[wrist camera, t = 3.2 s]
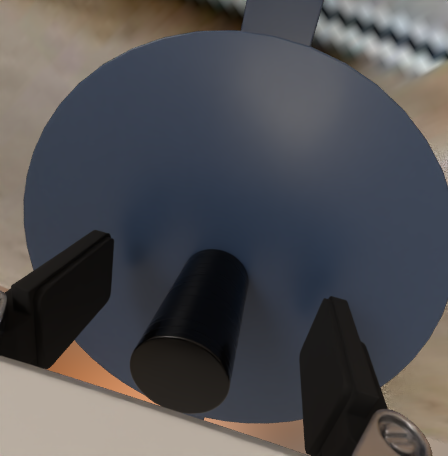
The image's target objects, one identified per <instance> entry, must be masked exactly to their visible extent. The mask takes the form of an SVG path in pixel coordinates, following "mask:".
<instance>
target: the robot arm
mask: <svg viewBox="0 0 448 456" xmlns="http://www.w3.org/2000/svg"><path fill="white" fill-rule="evenodd" d="M113 253H114V239H113V238H111V236H110V234H109V233H105V232H102V231H98V230H93V231H92V232H90V233H89V234H87V235H86V236H84V237H83V238H81V239H80V240H78V241H77V242H75V243H74V244H72V245H71V246H69V247H68V248H66V249H65V250H63V251H62V252H61V253H59V254H58V255H56V256H55V257H53V258H52V259H50V260H49V261H47V262H46V263H44V264H43V265H41V266H40V267H38V268H37V269H35V270H34V271H32V272H31V273H29V274H28V275H27V276H25V277H24V278H22V279H21V280H19V281H18V282H16V283H15V284H13V285H12V286H11V289H9V290H8V291H7V292H5V293H4V292H2V291H0V456H308V455H306V454H303V453H300V452H297V451H294V450H291V449H289V448H286V447H283V446H280V445H277V444H274V443H271V442H268V441H265V440H262V439H259V438H256V437H253V436H250V435H247V434H244V433H241V432H238V431H235V430H232V429H228V428H226V427H223V426H219V425H217V424H213V423H210V422H207V421H204V420H201V419H198V418H195V417H192V416H189V415H186V414H183V413H180V412H177V411H174V410H171V409H168V408H165V407H162V406H158V405H155V404H152V403H149V402H146V401H143V400H140V399H137V398H133V397H131V396H127V395H124V394H121V393H118V392H115V391H112V390H109V389H106V388H103V387H100V386H96V385H93V384H90V383H87V382H83V381H81V380H78V379H74V378H71V377H68V376H64V375H62V374H59V373H55V372H52V371H49V370H46V369H48V368H50V367H51V366H52V365H53V364H54V363H55V362H56V360H57V359H58V358H59V357H60V356H61V355H62V353H63V352H64V351H65V350H66V349H67V348H68V347H69V346H70V344H71V343H72V342H73V341H74V340H75V339H76V338H77V336H78V335H79V334H80V333H81V332H82V331H83V330H84V328H85V327H86V326H87V325H88V324H89V323H90V322H91V320H92V319H93V318H94V317H95V316H96V315H97V314H98V312H99V311H100V310H101V309H102V308H103V307H104V306H105V304H106V303H107V302H108V300H109V298H110V295H111V284H112V269H113ZM299 365H300V380H301V395H302V410H303V425H304V440H305V450H306V453H307V454H309V455H311V456H432V450H431V447H430V444H429V443H428V441H427V439H426V437H425V436H424V434H423V433H422V432H421V431H420V430H419V428H418V427H417V426H416V425H415V424H414V423H413V422H411V421H410V420H409V419H408V418H406V417H405V416H403V415H402V414H400V413H398V412H395V411H393V410H389V409H388V408H387V405H386V403H385V400H384V397H383V394H382V391H381V388H380V385H379V382H378V379H377V376H376V374H375V371H374V368H373V365H372V362H371V359H370V356H369V353H368V350H367V347H366V345H365V344H364V343H363V342H361V341H360V338H359V335H358V332H357V329H356V326H355V323H354V320H353V317H352V314H351V311H350V308H349V305H348V302H347V300H344V299H341V298H337V297H333V296H330V297H329V298H328V299H326V298H324V299H323V301H322V303H321V305H320V307H319V310H318V312H317V314H316V316H315V319H314V321H313V323H312V326H311V328H310V330H309V333H308V335H307V337H306V340H305V342H304V344H303V346H302V349H301V351H300V356H299Z"/></svg>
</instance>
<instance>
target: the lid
mask: <svg viewBox="0 0 448 456" xmlns="http://www.w3.org/2000/svg"><path fill="white" fill-rule="evenodd" d="M24 228H25V235H26V242H27V248H28V252H29V255H30V259H31V263H32V267H33V270H35V269H37V268H38V267H40V266H41V265H43V264H44V263H46V262H47V261H49V260H50V259H52V258H53V257H55V256H56V255H58V254H59V253H61V252H62V251H63V250H65V249H66V248H68V247H69V246H71V245H72V244H74V243H75V242H77V241H78V240H80V239H81V238H83V237H84V236H86V235H87V234H89V233H90V232H92V231H93V230H98V231H102V232H105V233H109V234H110V236H111V238H113V239H114V253H113V269H112V284H111V295H110V298H109V300H108V302H107V303H106V304H105V306H104V307H103V308H102V309H101V310H100V311H99V312H98V314H97V315H96V316H95V317H94V318H93V319H92V320H91V322H90V323H89V324H88V325H87V326H86V327H85V328H84V330H83V331H82V332H81V333H80V334H79V335H78V336H77V338H76V339H75V341H76V342H77V344H78V345H79V346H80V347H81V348H82V349H83V350H84V351H85V352H86V353H87V354H88V355H89V356H90V357H91V358H92V359H93V360H95V361H96V362H97V363H98V364H99V365H101V366H102V367H103V368H104V369H106V370H107V371H108V372H109V373H111V374H112V375H113V376H115V377H116V378H118V379H119V380H120V381H122V382H123V383H125V384H126V385H128V386H130V387H131V388H133V389H135V390H136V391H138V392H140V393H142V394H143V395H145V396H146V397H148V398H149V399H150V400H152V401H153V402H154V403H156V404H158V405H160V406H162V407H165V408H168V409H171V410H174V411H177V412H180V413H187V414H194V415H198V416H202V417H206V418H211V419H216V420H222V421H229V422H239V423H279V422H290V421H296V420H301V419H303V410H302V395H301V380H300V365H299V356H300V351H301V349H302V346H303V344H304V342H305V340H306V337H307V335H308V333H309V330H310V328H311V326H312V323H313V321H314V319H315V316H316V314H317V312H318V310H319V307H320V305H321V303H322V301H323V299H324V298H326V299H328V298H329V297H330V296H333V297H337V298H341V299H344V300H347V302H348V305H349V308H350V311H351V314H352V317H353V320H354V323H355V326H356V329H357V332H358V335H359V338H360V341H361V342H363V343H364V344H365V345H366V347H367V350H368V353H369V356H370V359H371V362H372V365H373V368H374V371H375V374H376V376H377V379H378V382H379V385H380V387H382V386H383V385H384V384H386V383H387V382H388V381H390V380H391V379H392V378H394V377H395V376H396V375H397V374H398V373H399V372H400V371H402V370H403V369H404V368H405V367H406V366H407V365H408V364H409V363H410V362H411V361H412V360H413V359H414V358H415V356H416V355H417V354H418V352H419V351H420V350H421V349H422V347H423V346H424V345H425V343H426V342H427V341H428V340H429V338H430V336H431V335H432V333H433V331H434V329H435V327H436V326H437V324H438V322H439V320H440V319H441V317H442V314H443V312H444V309H445V306H446V304H447V301H448V186H447V182H446V179H445V176H444V173H443V170H442V168H441V167H440V165H439V163H438V161H437V159H436V157H435V155H434V153H433V151H432V149H431V147H430V146H429V144H428V142H427V140H426V139H425V137H424V136H423V135H422V133H421V132H420V131H419V129H418V128H417V127H416V125H415V124H414V123H413V121H412V120H411V119H410V117H409V116H408V115H407V113H406V112H405V111H404V110H403V109H402V108H401V107H400V106H399V105H398V104H397V103H396V102H395V101H394V100H393V99H392V98H390V97H389V96H388V95H387V94H386V93H385V92H384V91H383V90H382V89H381V88H380V87H379V86H378V85H377V84H375V83H374V82H372V81H371V80H369V79H368V78H366V77H365V76H363V75H362V74H361V73H359V72H358V71H356V70H355V69H353V68H352V67H350V66H349V65H347V64H346V63H344V62H342V61H340V60H338V59H336V58H334V57H331V56H329V55H327V54H325V53H323V52H321V51H319V50H317V49H315V48H313V47H310V46H307V45H304V44H300V43H297V42H294V41H290V40H287V39H284V38H280V37H277V36H273V35H266V34H259V33H251V32H244V31H237V30H229V31H197V32H191V33H186V34H180V35H175V36H169V37H164V38H161V39H158V40H155V41H152V42H149V43H147V44H144V45H141V46H138V47H135V48H132V49H130V50H128V51H127V52H125V53H123V54H121V55H119V56H118V57H116V58H114V59H112V60H110V61H108V62H107V63H105V64H103V65H102V66H101V67H99V68H98V69H97V70H95V71H94V72H93V73H92V74H90V75H89V76H88V77H86V78H85V79H84V80H83V81H81V82H80V83H79V84H78V85H77V86H76V87H75V88H74V89H73V90H72V92H71V93H70V94H69V95H68V96H67V97H66V98H65V99H64V100H63V101H62V102H61V104H60V105H59V106H58V108H57V109H56V111H55V112H54V114H53V115H52V117H51V118H50V120H49V121H48V123H47V124H46V126H45V127H44V130H43V132H42V134H41V136H40V138H39V141H38V143H37V145H36V147H35V149H34V152H33V155H32V159H31V162H30V166H29V170H28V173H27V178H26V186H25V193H24Z"/></svg>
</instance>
